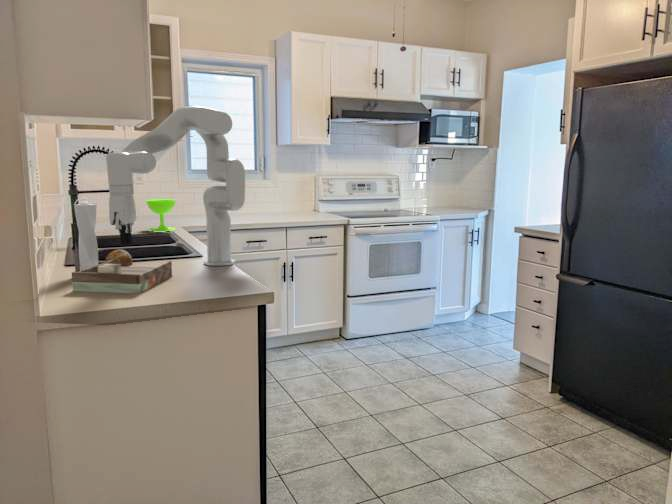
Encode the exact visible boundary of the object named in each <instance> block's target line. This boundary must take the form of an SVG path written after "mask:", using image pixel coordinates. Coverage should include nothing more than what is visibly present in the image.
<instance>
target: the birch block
mask: <svg viewBox="0 0 672 504" xmlns="http://www.w3.org/2000/svg"><path fill="white" fill-rule="evenodd" d="M98 273H119V274H121V264H103V265H101V266H98Z"/></svg>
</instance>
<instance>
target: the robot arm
mask: <svg viewBox="0 0 672 504" xmlns="http://www.w3.org/2000/svg"><path fill="white" fill-rule="evenodd" d="M232 128H233V120H232V118H231V116H230V115H229V114H228V113H227V112H225V111H222V110H219V109H214V108H209V107H206V106H200V105H199V106H198V105H191V106H181V107H178V108H176V109H175V110H174V111H173V112H172V113H171V114H170V115H169V116H167V118H165V119H164V120H163V121H162V122H161V123H160V124H159V125H157V127H155V128H154V129H152V130H150V131H148V132H146V133H145V134H143V135H141V136H139V137H137V138H135V139H134V140H133V141H131V142H130V143H129V144H127V146H125V148H124V149H122V150H121V151H120V152H119V151H117V152H116V151H115V152H113V151H112V152H109V153H107V154H106V157H105V160H106V161H105V162H106V169H107V171H106V172H107V181H108V189H109V190H108V191H109V192H108V193H109V199H108V200H109V202H108V210H109V211H108V212H109V213H108V215H109V223H110V225H111V226H115V230H118V234H119V237H120V238H119V239H120V245H121V246H131V245H132V244H133V238H132V236H133V235H132V231H133V230H132V229H133V226H134V225H135V222H136V220H137V211H136V204H135V203H136V202H135V198H134V194H135V192H134V191H135V189H134V180H133V174H141V175H143V174H149V173H151V172H153V171H154V169H156V167H157V160H156V157H155V156H154V154H156V153H160V152H164V151H166V150H169V149H171V148H173V147H175V146H176V145H177V144H178V143H179V142H180V141H181V139H183V138H184V137H185V136H186V135H187V134H188V133H189V132H190V131H195V132H196V133H198V135H199V136H200V137H201V138H202V140H203V141H204V143H205V147H206V148H205V149H206V175H207V177H208V180H210V181H211V182H215V183H225V185H211V186H209V187H207V188H206V189H205V190H204V192H203V196H202V200H203V205H204V210H205V218H206V220H205V221H206V251H207V252H206V253H207V258H206V259H204V260H203V265H205V266H209V267H210V266H211V267H212V266H213V267H222V266H223V267H225V266H230V265H234V264H235V263H236V260H235V259H234V258H232V236H231V235H232V233H231V227H232V226H231V225H232V224H231V218H230V213H229V212H228V211H232V212H234V211H239V210H241V209H242V208H243V206H244V204H245V200H246V170H245V167H244V165H243V163H242V161H240V160H239V159H238V158H233V157H231V158H230V154H229V153H230V152H229V143H228V140H227V138H226V137H225V135H227V134H229V133H230V131H231V130H232Z"/></svg>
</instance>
